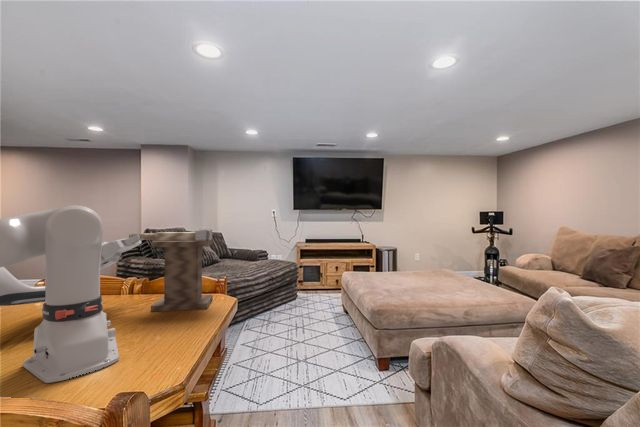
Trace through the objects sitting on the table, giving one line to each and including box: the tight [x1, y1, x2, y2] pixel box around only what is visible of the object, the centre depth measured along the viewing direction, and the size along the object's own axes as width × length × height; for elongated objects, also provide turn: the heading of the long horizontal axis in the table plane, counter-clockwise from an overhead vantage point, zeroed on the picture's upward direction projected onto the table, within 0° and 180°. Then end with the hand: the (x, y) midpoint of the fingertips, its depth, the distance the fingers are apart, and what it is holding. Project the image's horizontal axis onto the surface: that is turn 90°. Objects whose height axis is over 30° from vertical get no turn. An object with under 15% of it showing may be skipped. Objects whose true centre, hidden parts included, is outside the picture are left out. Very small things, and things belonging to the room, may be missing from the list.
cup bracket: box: [194, 229, 213, 241], centre depth 119 cm, size 5×8×4 cm, turn 11°
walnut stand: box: [150, 238, 214, 312], centre depth 117 cm, size 20×12×26 cm, turn 101°
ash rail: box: [128, 231, 195, 241], centre depth 116 cm, size 26×4×3 cm, turn 101°
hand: (141, 235), depth 114 cm, fingers closed on ash rail, 2 cm apart
